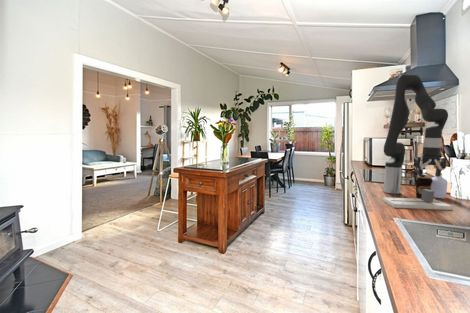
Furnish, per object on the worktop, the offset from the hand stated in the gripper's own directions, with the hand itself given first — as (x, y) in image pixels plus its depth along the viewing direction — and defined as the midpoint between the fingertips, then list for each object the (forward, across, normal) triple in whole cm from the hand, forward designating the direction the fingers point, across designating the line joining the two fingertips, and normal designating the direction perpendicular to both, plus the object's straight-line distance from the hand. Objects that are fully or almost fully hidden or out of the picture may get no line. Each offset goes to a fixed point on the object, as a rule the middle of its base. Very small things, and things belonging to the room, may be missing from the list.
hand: (428, 176), depth 135 cm
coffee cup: (+17, -7, -14) cm, 23 cm away
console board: (+16, +6, 0) cm, 17 cm away
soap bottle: (+17, -18, -21) cm, 32 cm away
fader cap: (+14, 0, 0) cm, 14 cm away
